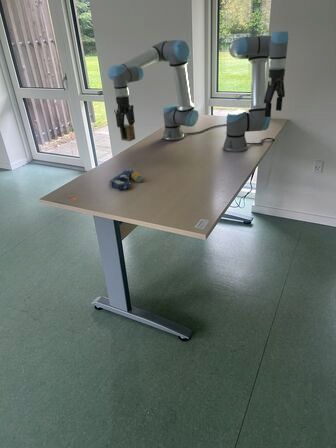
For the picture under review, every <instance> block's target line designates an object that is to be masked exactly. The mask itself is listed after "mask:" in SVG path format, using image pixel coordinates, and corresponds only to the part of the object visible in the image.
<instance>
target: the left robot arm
mask: <svg viewBox="0 0 336 448" xmlns="http://www.w3.org/2000/svg"><path fill="white" fill-rule="evenodd" d="M190 58H191V47H190V45H189V44H188V42H187V41H186V40H182V39H181V40H180V39H173V40H163V41H161V42H158V43H156V44H154V45H152V46H150V47H149V48H148V49H147V50H146V51H143V52H142V53H141V54H138V55H137V56H135V57H132V58H131V59H129V60H126V61H124V62H123V63H121V64H116V65H113V66H110V67H109V68H108V71H107V75H108V78H109V79H110V80H111V81H112V82H113V87H114V95H115V96H116V97H115V101H116V104H117V108H116V109H114V110H113V112H114V115H115V120H116V127H117V128H119V130H120V129H121V133H122V138H123V139H127V137H126V129H125V127H124V125H125V117H126V120H127V122H128V123H127V124H128V125H135V123H136V122H135V121H136V120H135V113H134V105H133V104H130V102H131V101H130V91H129V85H128V84H129V83H134V82H139V81H141V80H142V79H143V78H144V70H143V69H144V68H147V67H148V66H150V65H153V64H157V63H161V62H168V65H169V68H171V69H172V73H173V74H172V75H173V80H174V85H175V93H176V97H177V104H171V105H166V106H165V107H163V113H162V114H163V123H164V130H163V135H162V139H163V140H164V141H167V142H176V141H180V140H182V139H184V137H185V135H194V134H195V135H196V134H199V133H200V134H201V133H202V132H205V131H207V130H210V129H212V128H217V127H222V126H223V127H225V126H227V123H224V124H223V123H222V124H218V125H213V126H210V127H207V128H204V129H202V130H200V131H194V132H183V129H182V126H183V127H191V128H192V127H194V126H195V125H196V124H197V122H198V121H199V116H200V113H199V111H198V110H197V109H196V108H195V105H194V103H193V102H192V100H191V93H190V86H189V79H188V71H187V70H188V69H187V65H188V62H189V59H190ZM121 133H120V134H121Z"/></svg>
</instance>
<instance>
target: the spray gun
mask: <svg viewBox="0 0 336 448" xmlns="http://www.w3.org/2000/svg"><path fill="white" fill-rule="evenodd" d="M131 179H132V180H133V181H135V183H141V182H142V180H143V175H141V174H140V173H139V172H137V171H134V169H133V168H130V169H123V171H121V172H120V173H119V174H117V175H116V176H115V177H113V178H112V179H110V180H109V181H108V186H109V187H111V188H116V189H117V190H120V191H121V190H126V189H128V188H129V187H131V185H132V184H131V182H130V180H131Z"/></svg>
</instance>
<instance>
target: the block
mask: <svg viewBox="0 0 336 448" xmlns="http://www.w3.org/2000/svg"><path fill="white" fill-rule="evenodd" d="M134 125H135V124H134ZM134 125H129V124H128V123H124V127H125V129H126V137H127V139H123V138H122V133H121V129H120V128H119V134H120V140H121V141H126V142H132V141H134V140H136V132H135V126H134Z"/></svg>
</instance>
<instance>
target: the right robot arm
mask: <svg viewBox="0 0 336 448" xmlns="http://www.w3.org/2000/svg"><path fill="white" fill-rule="evenodd" d="M288 42H289V31H287V30H277V31H272V32H271V35H254V36H253V35H252V36H243V37H239V38H236V39H234V40H232V42H231V43H230V44H229V47H228V51H229V54H230V56H231V57H233V58H235V59H238V60H247V63H248V64H249V65H250V107H249V108H248V111H246V110H245V109H235V110H233V111H230V112H228V113H227V114H226V121H225V122H226V124H227V125H226V136H225V140H224V142H223V150H224V151H226V152H231V153H238V152H243V151H246V150H247V149H248V145H262V144H263V142H264V141H266V140H272V141H275V139H274V138H273V137H266V138H262V139H261V140H260V142H247V139H246V133H247V132H249V133H250V132H263V131H266V130H268V129H269V127H270V125H271V119H272V101H273V97H274V95H275V92H276V94H277V97H276V103H275V111H279V112H281V111H282V108H283V98H286V97H285V96H286V92H285V75H286V66H287V55H288ZM267 62H268V63H269V66H268V68H269V69H268V74H267V75H268V78H270V80H268V81H267V86H266V65H267Z"/></svg>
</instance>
